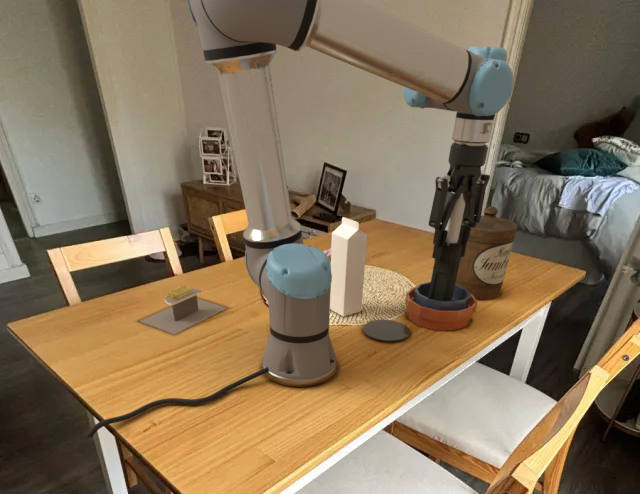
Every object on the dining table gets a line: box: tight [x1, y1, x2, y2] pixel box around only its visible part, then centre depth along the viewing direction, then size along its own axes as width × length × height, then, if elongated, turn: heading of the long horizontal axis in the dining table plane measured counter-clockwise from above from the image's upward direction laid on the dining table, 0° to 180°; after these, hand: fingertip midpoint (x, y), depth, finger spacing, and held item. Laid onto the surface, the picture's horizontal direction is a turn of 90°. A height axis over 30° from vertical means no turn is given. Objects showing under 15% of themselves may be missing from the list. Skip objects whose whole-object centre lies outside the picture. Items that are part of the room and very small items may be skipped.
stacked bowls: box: [404, 281, 478, 331], centre depth 119 cm, size 17×17×6 cm
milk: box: [330, 216, 368, 318], centre depth 116 cm, size 6×6×22 cm
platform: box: [139, 284, 228, 335], centre depth 116 cm, size 12×18×7 cm, turn 147°
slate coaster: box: [362, 319, 411, 344], centre depth 113 cm, size 11×11×1 cm
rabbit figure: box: [322, 247, 331, 259], centre depth 153 cm, size 6×6×15 cm
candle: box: [428, 193, 465, 301], centre depth 110 cm, size 5×5×25 cm
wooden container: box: [455, 205, 518, 301], centre depth 129 cm, size 15×15×22 cm
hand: (448, 256), depth 112 cm, fingers closed on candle, 6 cm apart
